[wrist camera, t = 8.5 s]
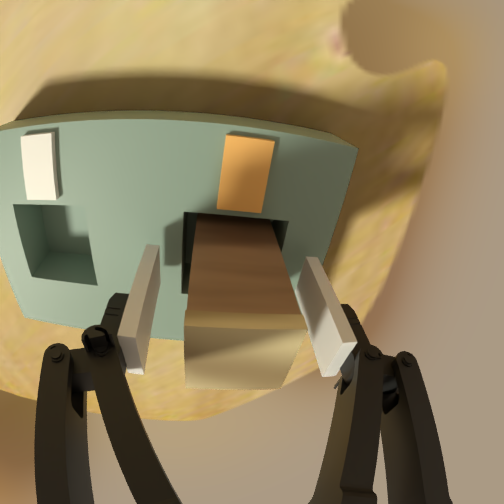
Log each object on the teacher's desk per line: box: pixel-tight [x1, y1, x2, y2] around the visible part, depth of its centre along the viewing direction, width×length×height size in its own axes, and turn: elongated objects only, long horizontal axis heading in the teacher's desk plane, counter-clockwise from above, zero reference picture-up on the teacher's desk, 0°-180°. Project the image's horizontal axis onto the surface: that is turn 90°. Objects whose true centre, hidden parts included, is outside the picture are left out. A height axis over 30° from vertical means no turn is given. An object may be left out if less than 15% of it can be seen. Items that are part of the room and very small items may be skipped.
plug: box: [184, 213, 308, 390], centre depth 16 cm, size 5×5×11 cm
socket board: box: [0, 110, 359, 341], centre depth 18 cm, size 16×24×5 cm, turn 81°
